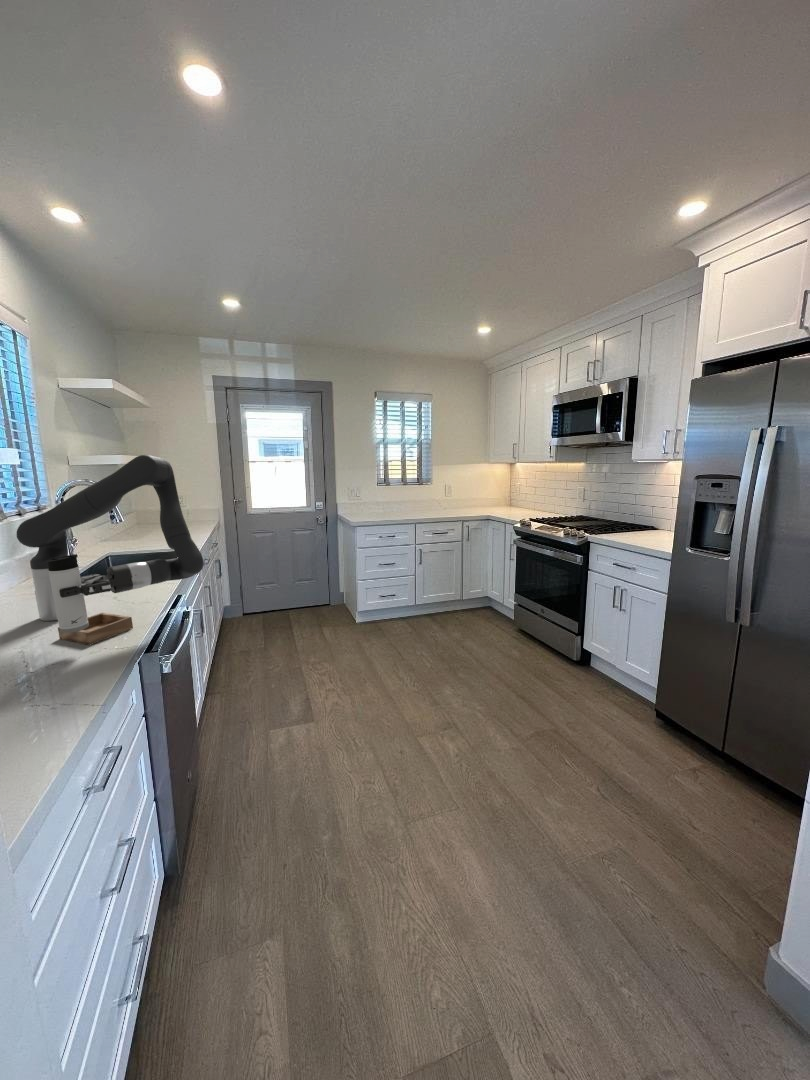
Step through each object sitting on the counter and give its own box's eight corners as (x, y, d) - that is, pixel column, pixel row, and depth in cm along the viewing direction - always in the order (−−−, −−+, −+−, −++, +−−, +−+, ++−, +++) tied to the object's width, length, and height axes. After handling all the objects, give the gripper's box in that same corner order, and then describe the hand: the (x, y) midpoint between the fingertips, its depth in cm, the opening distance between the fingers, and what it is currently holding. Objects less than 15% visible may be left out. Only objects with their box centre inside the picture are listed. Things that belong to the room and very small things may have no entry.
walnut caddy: (59, 639, 128) (57, 627, 127) (104, 623, 140) (102, 612, 139) (89, 644, 123) (87, 632, 123) (133, 627, 135) (131, 617, 135)
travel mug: (81, 632, 115) (68, 557, 111) (54, 634, 114) (39, 559, 110) (95, 623, 121) (82, 552, 117) (69, 625, 120) (55, 553, 117)
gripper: (119, 560, 130) (48, 572, 118) (136, 567, 121) (60, 581, 109) (123, 585, 132) (53, 599, 119) (140, 594, 122) (66, 610, 110)
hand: (57, 591), depth 114 cm, fingers closed on travel mug, 6 cm apart
